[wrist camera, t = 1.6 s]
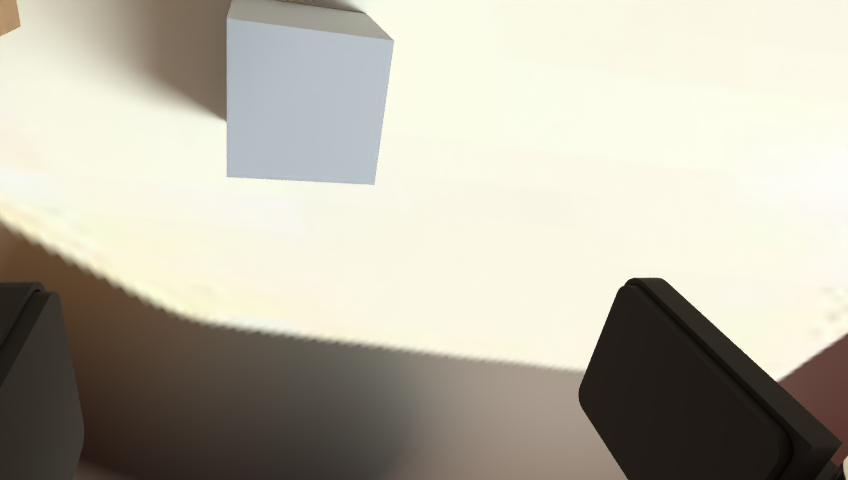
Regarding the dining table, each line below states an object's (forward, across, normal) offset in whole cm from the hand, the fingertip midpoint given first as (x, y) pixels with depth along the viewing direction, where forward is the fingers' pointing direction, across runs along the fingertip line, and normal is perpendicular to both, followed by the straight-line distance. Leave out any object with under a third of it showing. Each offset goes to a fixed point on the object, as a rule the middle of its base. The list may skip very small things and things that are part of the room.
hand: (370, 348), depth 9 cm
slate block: (+18, 0, 0) cm, 19 cm away
